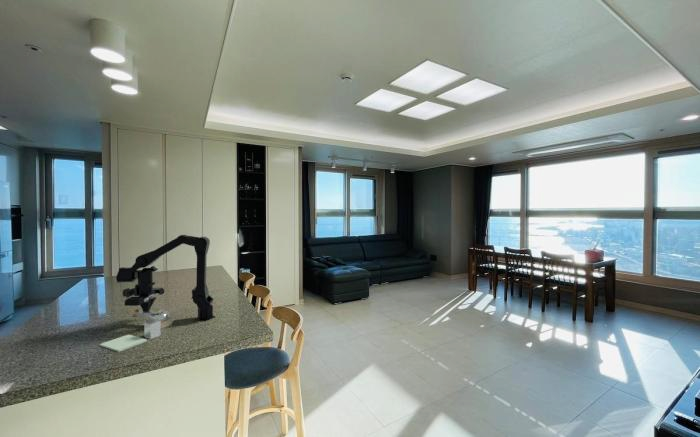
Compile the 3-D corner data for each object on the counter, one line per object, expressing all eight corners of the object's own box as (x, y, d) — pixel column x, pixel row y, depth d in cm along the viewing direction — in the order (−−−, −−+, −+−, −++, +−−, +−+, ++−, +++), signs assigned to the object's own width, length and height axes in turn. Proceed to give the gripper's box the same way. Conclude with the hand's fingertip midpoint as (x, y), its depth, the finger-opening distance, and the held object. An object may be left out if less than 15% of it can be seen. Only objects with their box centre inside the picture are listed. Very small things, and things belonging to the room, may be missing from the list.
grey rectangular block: (160, 335, 122) (160, 320, 122) (150, 338, 118) (150, 324, 118) (154, 333, 123) (154, 319, 123) (144, 337, 120) (144, 322, 119)
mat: (147, 341, 116) (147, 339, 116) (118, 351, 107) (118, 350, 107) (128, 335, 120) (128, 334, 120) (99, 345, 111) (99, 344, 111)
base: (177, 323, 135) (177, 318, 135) (156, 330, 126) (156, 326, 126) (163, 319, 139) (163, 315, 139) (141, 327, 130) (141, 322, 130)
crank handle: (172, 317, 135) (172, 307, 135) (160, 323, 128) (160, 312, 128) (139, 315, 138) (139, 305, 138) (126, 320, 131) (126, 310, 131)
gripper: (142, 276, 144) (142, 307, 145) (111, 286, 125) (112, 322, 126) (164, 276, 144) (165, 307, 145) (137, 286, 126) (138, 322, 126)
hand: (146, 314), depth 136 cm, fingers closed
